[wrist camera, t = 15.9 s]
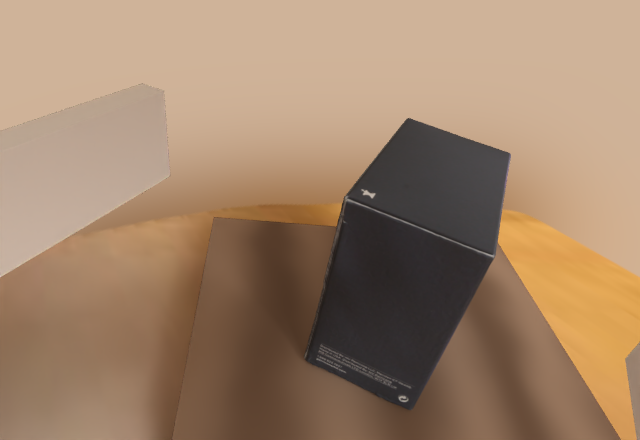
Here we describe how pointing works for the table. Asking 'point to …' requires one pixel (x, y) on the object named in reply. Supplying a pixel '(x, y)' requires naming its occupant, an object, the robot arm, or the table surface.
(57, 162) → the robot arm
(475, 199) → the small box
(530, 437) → the base brick
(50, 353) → the table surface
